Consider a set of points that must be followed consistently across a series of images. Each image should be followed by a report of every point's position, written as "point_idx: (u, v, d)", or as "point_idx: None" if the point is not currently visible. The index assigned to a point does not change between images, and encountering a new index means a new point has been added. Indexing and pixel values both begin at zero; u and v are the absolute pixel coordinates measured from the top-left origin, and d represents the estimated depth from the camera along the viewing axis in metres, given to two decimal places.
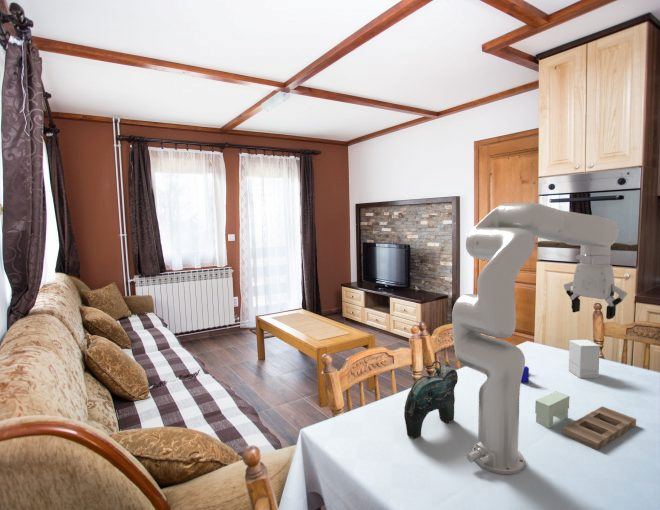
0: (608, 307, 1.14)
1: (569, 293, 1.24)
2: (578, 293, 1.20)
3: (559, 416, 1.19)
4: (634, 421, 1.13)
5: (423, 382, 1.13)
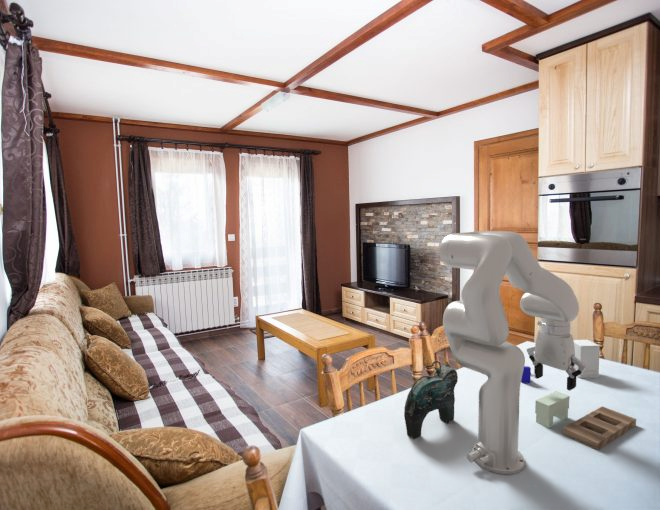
0: (568, 378, 1.12)
1: (532, 358, 1.22)
2: (539, 361, 1.18)
3: (559, 416, 1.19)
4: (634, 421, 1.13)
5: (423, 382, 1.13)
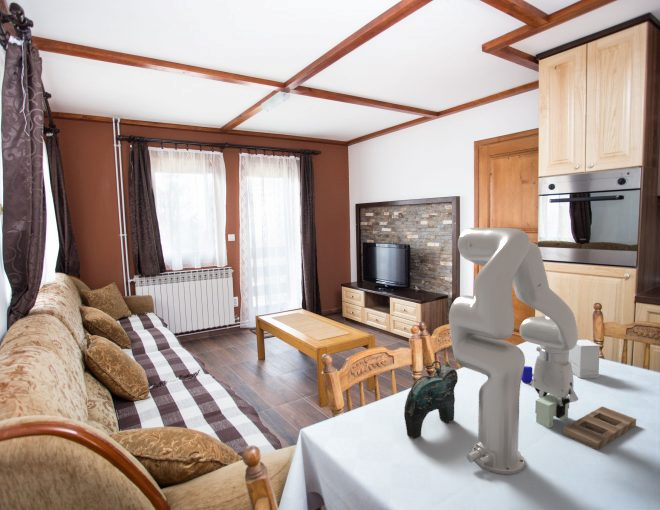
0: (557, 406, 1.15)
1: (538, 390, 1.21)
2: (538, 387, 1.18)
3: None
4: (634, 421, 1.13)
5: (423, 382, 1.13)
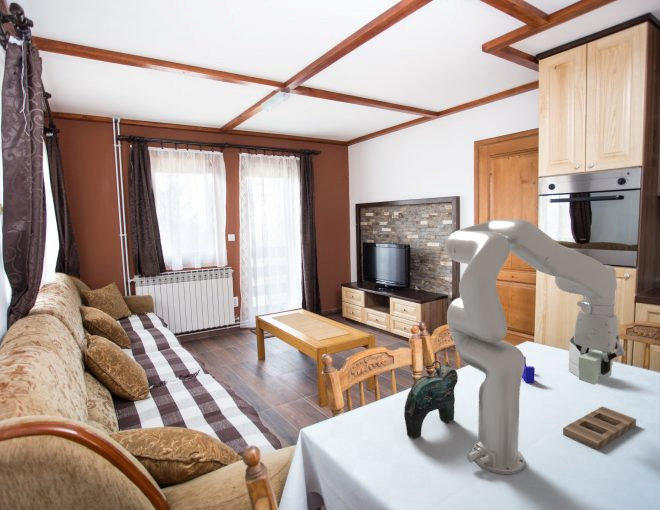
0: (603, 362, 1.08)
1: (579, 348, 1.14)
2: (580, 343, 1.12)
3: None
4: (634, 421, 1.13)
5: (423, 382, 1.13)
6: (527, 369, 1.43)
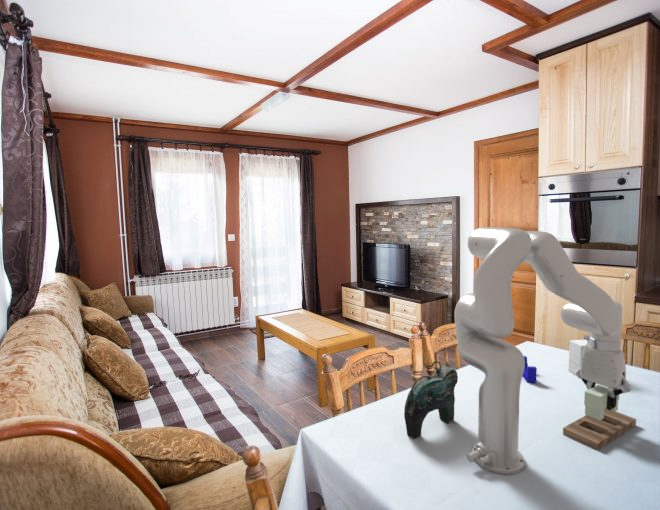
0: (609, 398, 1.08)
1: (585, 381, 1.14)
2: (586, 377, 1.12)
3: None
4: (634, 421, 1.13)
5: (423, 382, 1.13)
6: (529, 369, 1.43)
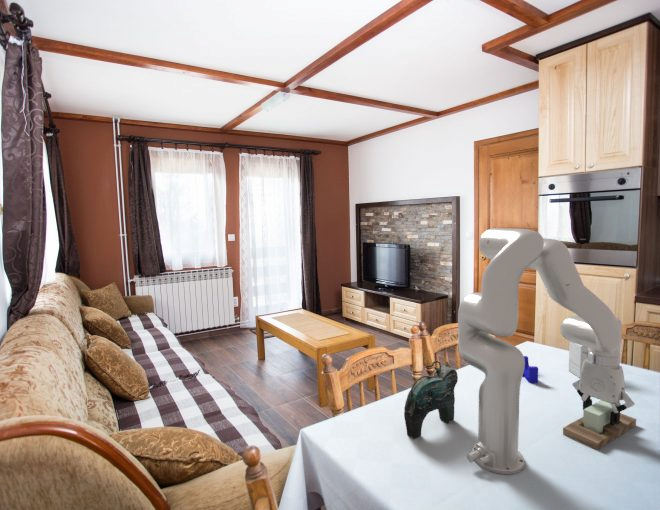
0: (612, 413, 1.08)
1: (580, 393, 1.15)
2: (585, 392, 1.12)
3: None
4: (634, 421, 1.13)
5: (423, 382, 1.13)
6: (531, 369, 1.43)
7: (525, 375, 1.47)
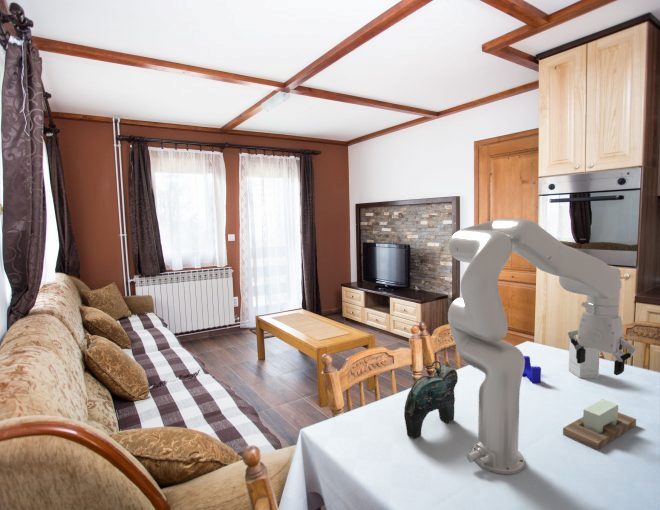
0: (616, 362, 1.05)
1: (574, 342, 1.15)
2: (583, 344, 1.11)
3: None
4: (634, 421, 1.13)
5: (423, 382, 1.13)
6: (534, 369, 1.43)
7: (527, 375, 1.47)
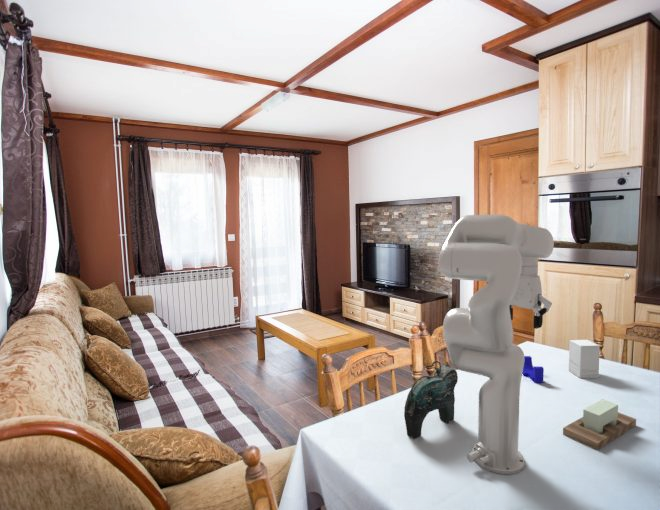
0: (535, 317, 1.17)
1: None
2: None
3: None
4: (634, 421, 1.13)
5: (423, 382, 1.13)
6: (536, 369, 1.43)
7: (530, 375, 1.47)
